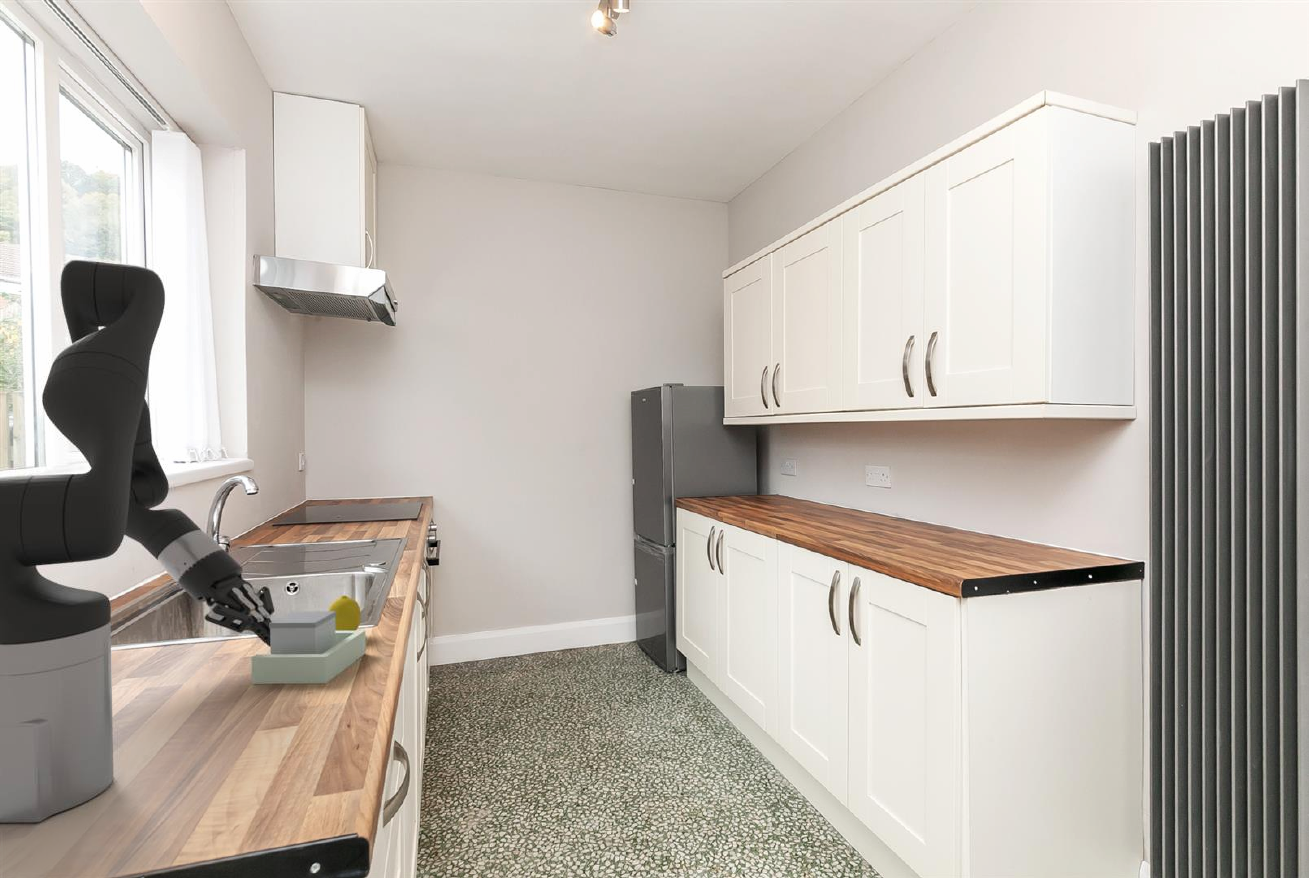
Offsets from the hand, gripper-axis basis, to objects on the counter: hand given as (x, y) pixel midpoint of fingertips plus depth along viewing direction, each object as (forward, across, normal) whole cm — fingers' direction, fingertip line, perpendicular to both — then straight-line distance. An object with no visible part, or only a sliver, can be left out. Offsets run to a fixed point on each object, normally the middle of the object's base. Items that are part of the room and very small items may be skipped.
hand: (277, 641), depth 99 cm
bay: (+7, 0, -1) cm, 7 cm away
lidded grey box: (+6, 0, 0) cm, 6 cm away
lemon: (+6, +14, +1) cm, 15 cm away
